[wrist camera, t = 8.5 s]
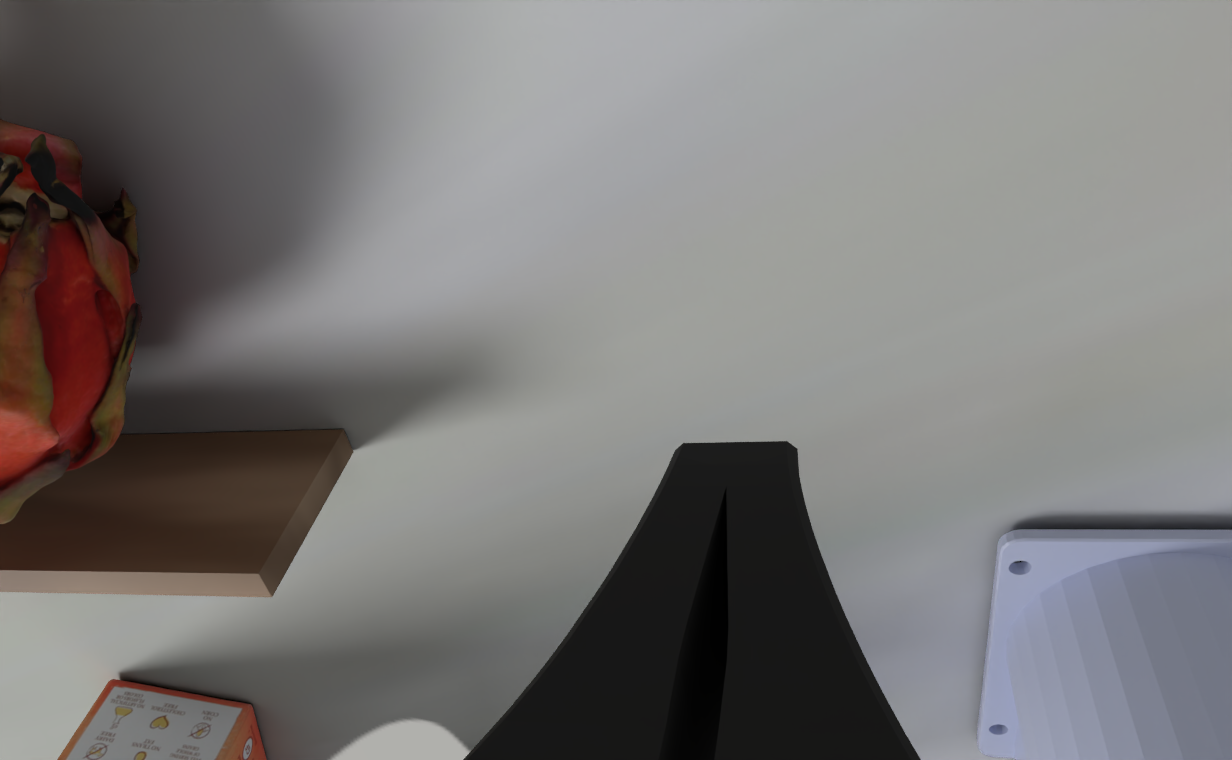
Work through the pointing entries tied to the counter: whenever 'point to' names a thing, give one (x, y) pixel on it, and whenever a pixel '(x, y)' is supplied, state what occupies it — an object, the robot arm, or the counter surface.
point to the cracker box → (164, 727)
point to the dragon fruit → (59, 315)
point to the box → (175, 515)
